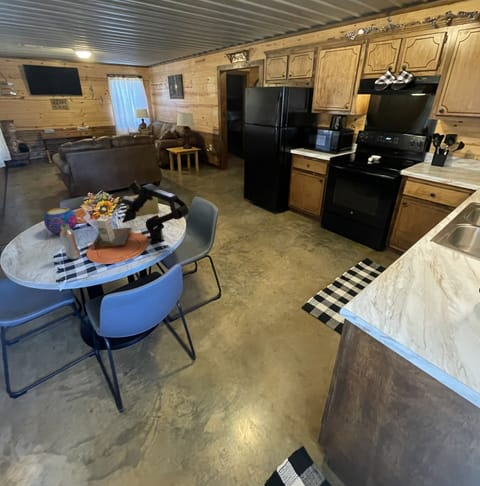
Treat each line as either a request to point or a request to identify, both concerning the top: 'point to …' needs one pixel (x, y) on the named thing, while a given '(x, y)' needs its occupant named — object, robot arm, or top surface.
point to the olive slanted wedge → (118, 241)
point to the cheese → (147, 206)
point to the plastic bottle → (69, 242)
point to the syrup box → (105, 229)
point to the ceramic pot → (59, 219)
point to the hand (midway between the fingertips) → (124, 219)
